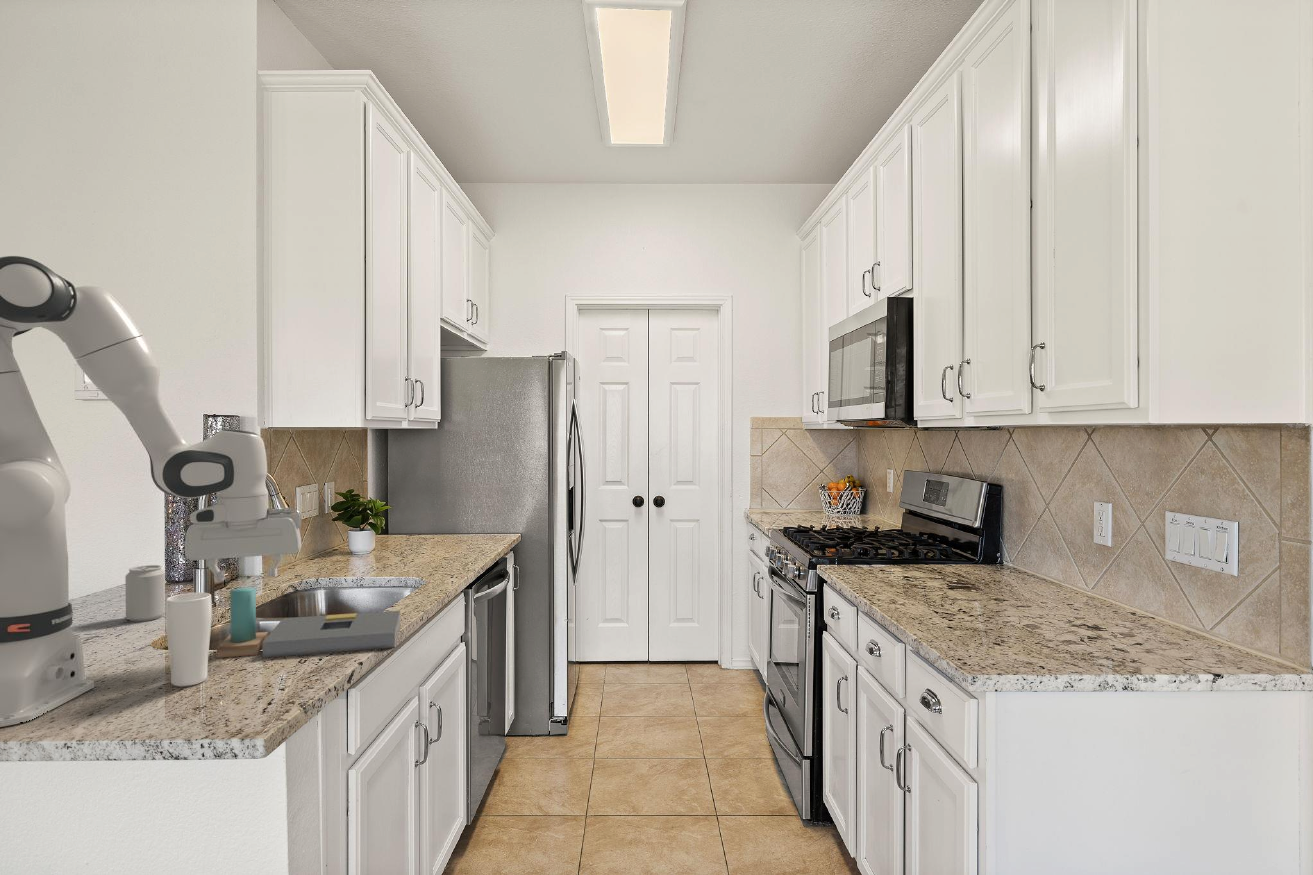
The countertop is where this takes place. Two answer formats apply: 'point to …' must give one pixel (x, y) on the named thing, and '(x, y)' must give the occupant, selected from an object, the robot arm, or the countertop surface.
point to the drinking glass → (188, 637)
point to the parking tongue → (241, 646)
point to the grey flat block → (332, 634)
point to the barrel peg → (243, 614)
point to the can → (145, 593)
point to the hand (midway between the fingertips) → (246, 578)
